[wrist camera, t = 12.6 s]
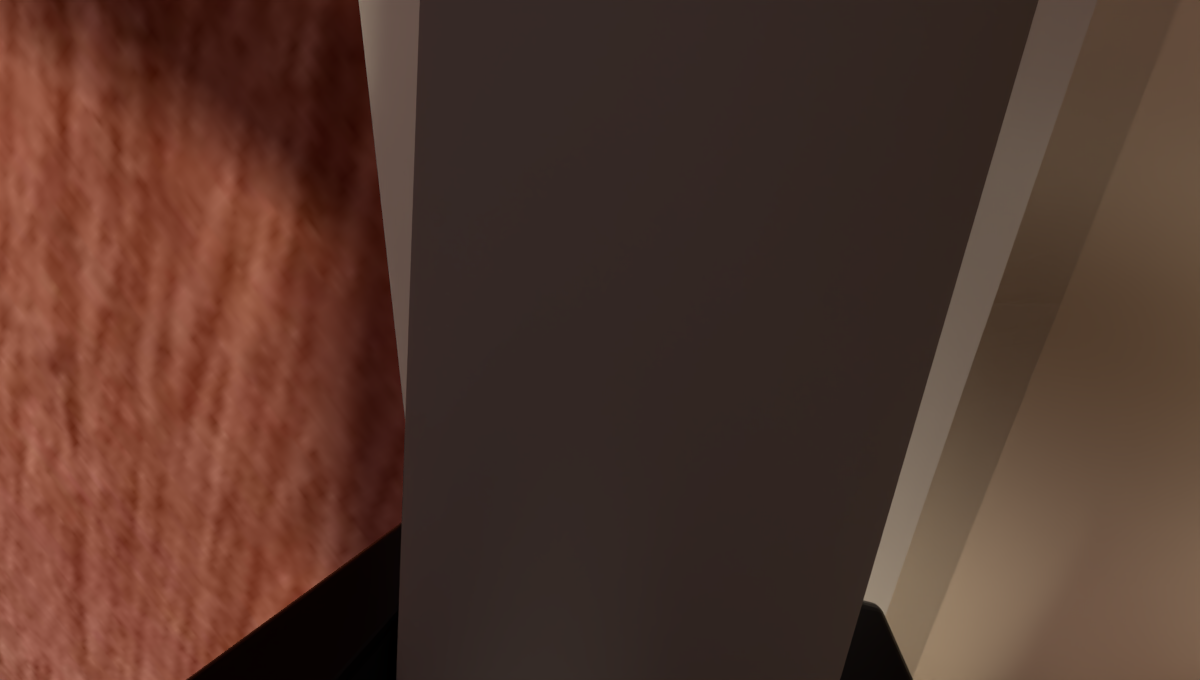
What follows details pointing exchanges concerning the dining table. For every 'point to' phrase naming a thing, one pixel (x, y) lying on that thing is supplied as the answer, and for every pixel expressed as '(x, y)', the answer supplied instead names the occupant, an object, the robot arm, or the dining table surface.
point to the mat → (1006, 193)
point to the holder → (1085, 400)
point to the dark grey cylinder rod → (676, 321)
